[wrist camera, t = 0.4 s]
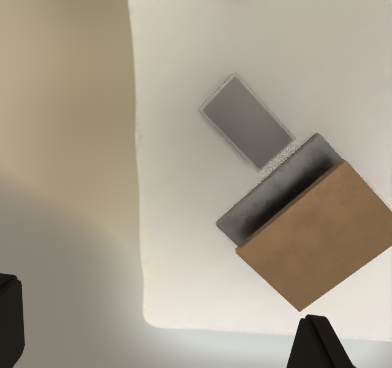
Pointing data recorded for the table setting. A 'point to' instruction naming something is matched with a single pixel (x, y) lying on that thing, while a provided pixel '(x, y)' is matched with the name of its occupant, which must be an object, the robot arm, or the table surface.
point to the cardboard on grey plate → (309, 224)
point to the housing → (246, 122)
